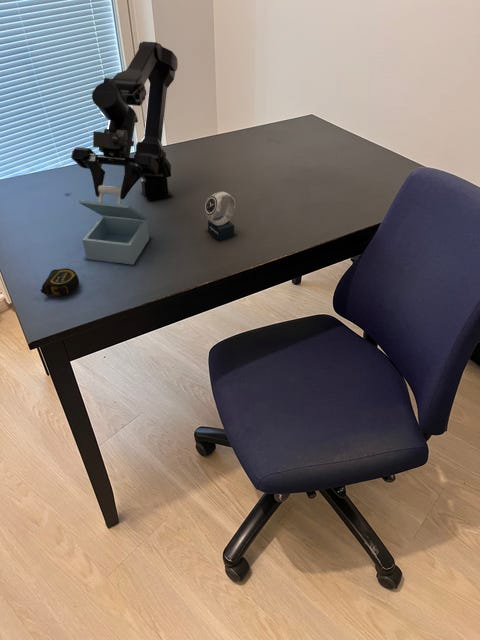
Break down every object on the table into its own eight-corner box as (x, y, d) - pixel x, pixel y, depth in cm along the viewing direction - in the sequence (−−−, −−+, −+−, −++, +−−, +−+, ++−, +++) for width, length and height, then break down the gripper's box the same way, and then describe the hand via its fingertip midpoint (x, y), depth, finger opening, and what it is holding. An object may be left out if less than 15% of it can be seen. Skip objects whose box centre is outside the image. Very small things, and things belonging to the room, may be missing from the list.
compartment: (133, 264, 112) (130, 245, 108) (86, 259, 113) (82, 239, 110) (149, 239, 120) (146, 220, 117) (105, 234, 122) (102, 215, 118)
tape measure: (55, 279, 107) (51, 265, 105) (85, 281, 107) (81, 267, 104) (43, 298, 102) (38, 284, 99) (74, 300, 101) (70, 286, 99)
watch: (201, 233, 123) (200, 193, 116) (227, 224, 126) (227, 185, 119) (213, 243, 120) (212, 203, 112) (239, 233, 123) (240, 194, 116)
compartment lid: (128, 208, 104) (131, 185, 104) (78, 202, 106) (81, 180, 106) (146, 220, 117) (149, 199, 117) (101, 215, 118) (104, 195, 118)
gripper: (65, 109, 102) (52, 180, 101) (148, 116, 100) (136, 188, 99) (88, 134, 113) (76, 198, 112) (163, 141, 111) (152, 206, 110)
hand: (109, 197), depth 108 cm, fingers closed on compartment lid, 5 cm apart
